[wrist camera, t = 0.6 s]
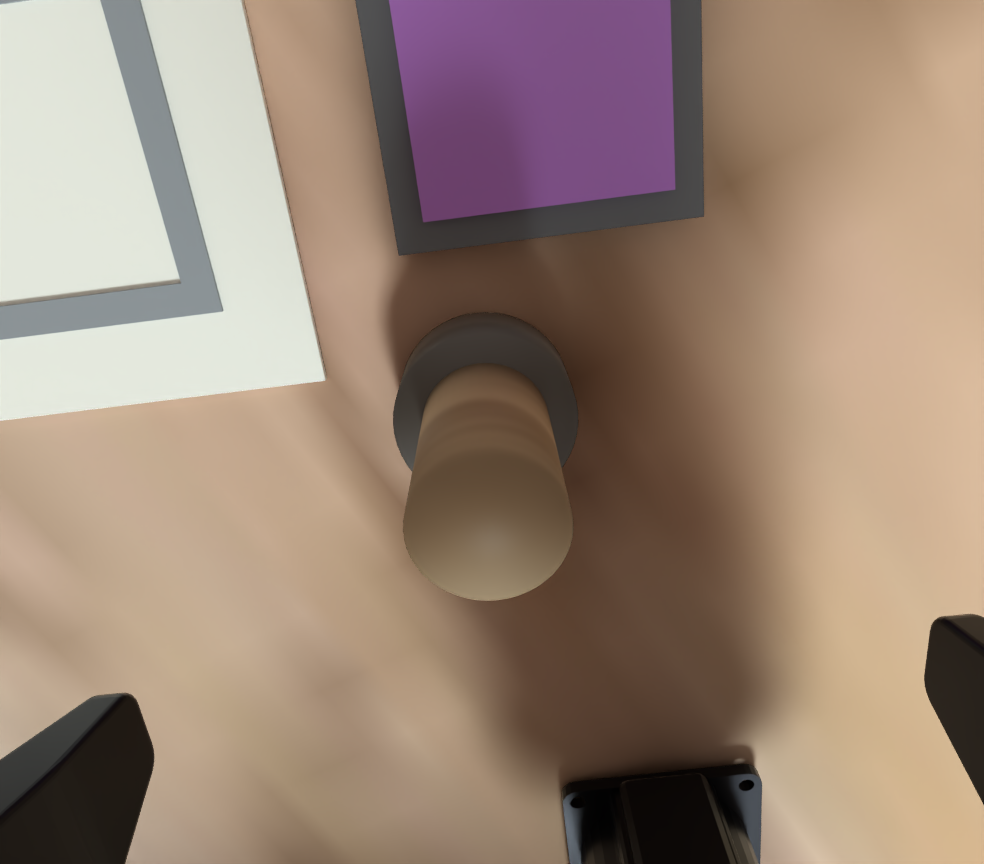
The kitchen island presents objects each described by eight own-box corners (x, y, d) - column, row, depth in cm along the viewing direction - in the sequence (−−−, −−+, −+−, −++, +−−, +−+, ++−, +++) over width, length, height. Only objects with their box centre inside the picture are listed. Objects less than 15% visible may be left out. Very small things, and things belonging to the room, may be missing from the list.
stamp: (575, 460, 20) (620, 618, 14) (415, 479, 21) (387, 643, 14) (561, 302, 19) (604, 398, 12) (387, 323, 19) (340, 430, 12)
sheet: (326, 377, 19) (324, 381, 19) (-122, 433, 20) (-130, 437, 19) (200, -198, 15) (194, -203, 14) (-382, -110, 15) (-399, -114, 15)
